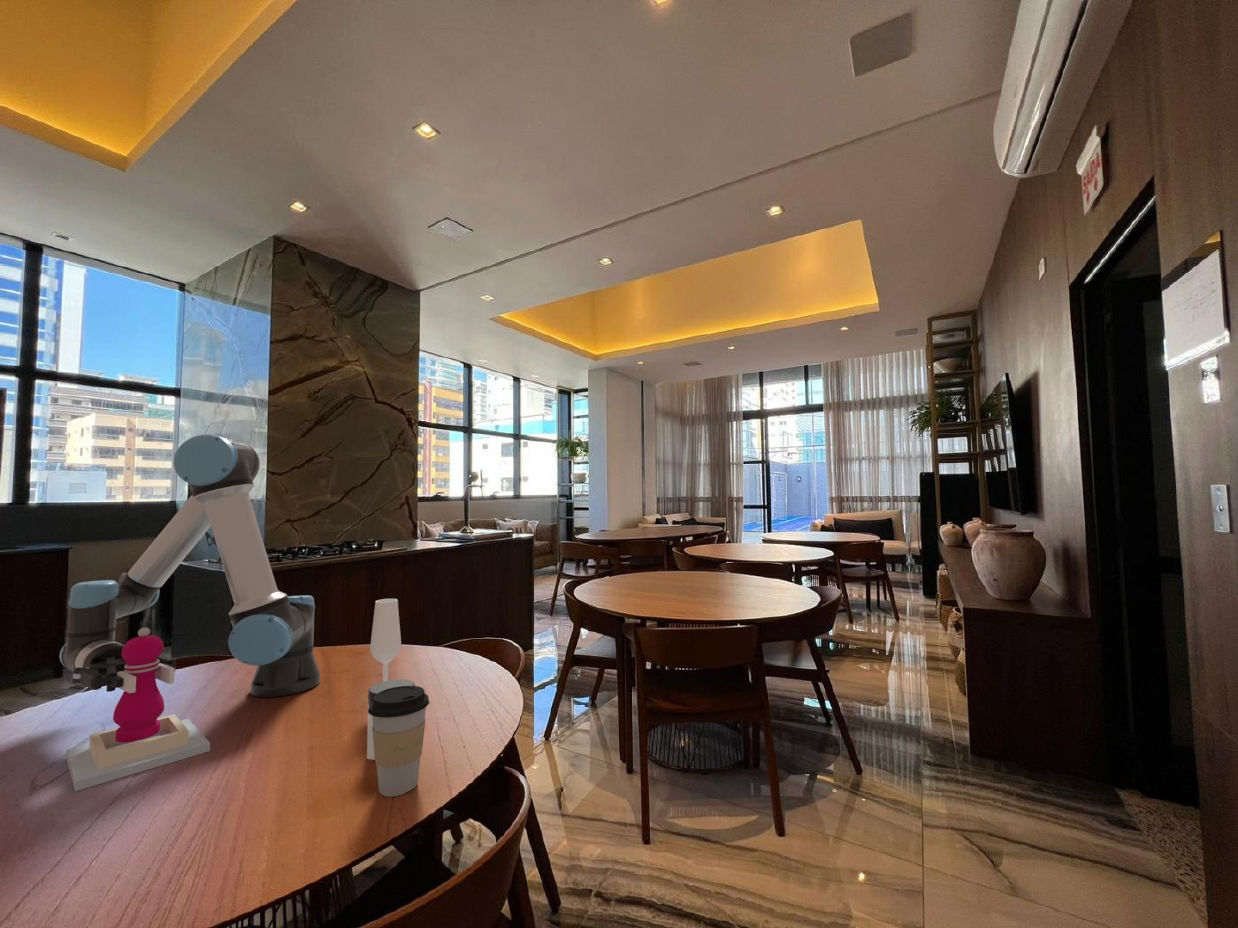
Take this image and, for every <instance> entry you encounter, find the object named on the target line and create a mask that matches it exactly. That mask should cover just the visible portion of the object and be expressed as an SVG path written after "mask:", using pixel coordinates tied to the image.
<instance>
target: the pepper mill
mask: <svg viewBox="0 0 1238 928" xmlns="http://www.w3.org/2000/svg"><path fill="white" fill-rule="evenodd" d="M150 634H151V629H150V628H149V627H142V628H140V629H139V630H138V631H137V635H138V636H136V637H133V638H131V639H129V640H128V641H126V643H125V644H123V645H124V647H123V649H122V658H123V659H124V660H125V661H126V662H127V664H126V665H125V666H124V667H125V670H124V672H126V673H128V674H131V675H133V676H136V691H135V692H134V693H128V692H126V691H124V690H123V693H122V695H121V696H120V699H119V700H118V702H117V703H116V706H115V707H114V711H113V717H112V719H113V722H114V723H115V724H116V725H117V726H118V727H117V728H118V729H117V730H116V737H115V740H116V741H117V742H133V741H138V740H142V739H145V738H148V737H151V736H153V735H155V734H157V733H158V732H159V731H160V721H159V720H157V718H160V716H161V715H162V714H163V712H164V710H165V701H164V696H163V695H162V693H161V692H160V689H159V688H158V685H157V679H156V676H155V674H156V668H158V667H159V661H160V660H159V659H157V658H158V657H159V656H160V655H162V653H163V652H164V647H165V646H164V641H163V640H162V639H161V638H160V637H158V636H156V635H152V634H151V635H150Z"/></svg>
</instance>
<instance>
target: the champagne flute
mask: <svg viewBox="0 0 1238 928" xmlns="http://www.w3.org/2000/svg"><path fill="white" fill-rule="evenodd" d="M373 613H374V614H373V620H372V621H373V622H372V630H371V638H370V646H369V651H370V654H371V656H373V658H374V659H375V660H376V661H378V662H379V663H381V664H382V682H385V681H389V663H390V662H391V661H393V660H394V659H395V657H397V655H398V654H399V653H400V651H401V649H402V641H401V640H402V637H401V626H400V624H401V623H400V616H399V614H400V613H399V600H398V599H397V598H383V599H378V600H375V604H374V612H373Z"/></svg>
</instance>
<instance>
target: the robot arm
mask: <svg viewBox="0 0 1238 928" xmlns="http://www.w3.org/2000/svg"><path fill="white" fill-rule="evenodd" d="M260 466H261V461H260V457H259V455H258V453H257V451H256V450H255V449H254V447H252V446H251V445H250V444H249V443H247V442H244V441H241V440H236V439H232V438H228V437H227V436H224V435H220V434H208V433H207V434H199V435H196V436H193V437H190V438H188V439H186V440H185V441H184V442H182V444H181V445H180V446H178V449H176V451H175V453H174V456H173V468H174V470H175V473H176V474H177V476H178V477H179V478H180V479H181V481H184V482H185V483H188V484H189V485H188V486H189V489H190V492H191V496H190V497H189V498H188V499H187V501H186V502H185V503H184V504H183V505H182V506H181V507H180V509H179V510H178V511H177V512H176V513H175V514H174V516H173V517H172V519H170V521H169V522H168V523H167V524H166V525H165V527H164V528H163V529H162V531H160V533H158V535H157V536H156V538H155V539H154V540H153V541H152V543H151V544H150V545H148V548H147V549H146V550H145V551H144V552H143V554H141V556H140V557H139V558H138V560H137V561H136V562H135V563H134V564H133V566H132V567H131V568H130V569H129V570H128V571H127V573H126V574H125V575H124V576H123V577H122V579H121V580H120V581H119V582H117V581H116V580H113V579H107V580H106V579H105V580H104V579H103V580H92V581H91V580H89V581H82V582H78V583H76V584H74V585H72V586H71V588H70V593H69V599H68V602H67V604H68V613H67V635H66V642H65V644H64V645H63V646H62V647H61V648H60V651H59V655H58V656H59V660H60V663H61V665H63V667H65V669H67V670H68V671H70V672H72V683H73V684H80V685H83V686H85V687H87V688H88V689H90V690H92V691H97V690H101V689H102V687H105V686H106V692H114V691H116V688H117V689H120V690H122V691H123V692H124V691H126V692H128V693H134V692H135V691H136V676H133V675H131V674H128V673H126V672H124V670H125V667H124V666H125V665H126V664H127V662H126V661H125V660H124V659H123V658H122V649H123V647H124V645H125V644H122V643H120V642H117V641H115V640H116V628H117V627H116V626H117V619H119V618H122V617H125V616H129V615H132V614H137V613H139V612H142V611H143V612H144V611H145V610H146V609H149V608H150V607H152V606H153V605H155V604H156V602H157V601H158V599H159V597H160V591H161V590H160V589H161V588H162V587H163V586H164V584H165V583H166V582H167V580H168V579H169V578H170V577H171V575H172V574H173V573H174V572H175V570H176V569H177V568H178V567H179V566H180V564H181V563H182V562H183V561H184V560H185V558H186V557H187V556H188V555H189V553H191V552H192V550H193V549H194V547H195V546H196V545H197V544H198V543H199V541H200V540H201V538H203V536H204V535H205V534H206V532H207V531H208V530H209V529H210V527H211V531H212V534H213V535H212V536H213V539H214V540H215V541H214V542H215V544H216V548H217V551H218V554H219V557H220V561H221V564H222V566H223V570H224V573H225V577H226V581H227V584H228V586H229V590H230V594H231V596H232V601H233V603H234V604H233V606H232V608H231V609H230V611H229V612H228V616H229V619H230V623H231V625H232V629H231V631H230V634H229V636H228V648H229V651H230V653H231V654H232V656H233V658H235V659H236V660H237V661H239V662H240V663H243V664H246V665H248V666H255V667H256V666H257V667H256V670H255V672H254V675H253V678H252V679H251V683H250V695H251V696H254V697H257V698H275V697H277V698H278V697H283V696H290V695H294V694H298V693H301V692H305V691H307V689H308V690H310V689H309V688H311V689H312V688H314V686H315V687H316V686H318V685H319V684H320V683H321V672H320V671H321V670H320V668H319V665H318V663H317V660H316V658H315V657H316V656H315V655H314V638H315V637H314V636H315V635H314V634H315V633H314V632H315V610H316V605H315V598H314V597H313V596H312V595H291V596H290V595H288V594H287V593H285V592H283V591H280V590H279V589H278V586H277V583H276V581H275V577H274V574H273V569H272V567H271V564H270V560H269V557H268V554H267V550H266V547H265V545H264V541H263V538H262V534H261V531H260V528H259V524H258V520H257V518H256V515H255V511H254V507H253V504H252V502H251V497H250V492H251V491H252V490H253V488H254V487H255V486H254V485H255V484H254V480H255V479H256V476H257V475H258V473H259V471H260ZM157 659H159V660H160V661H159V667H158V668H156V674H155V676H156V680H158V681H160V682H163V683H166V684H169V685H170V684H171V685H172V684H174V683H175V672H176V667H177V665H176V664H177V659H176V658H173V657H170V656H167V655H164V654H161V655H160V656H159V657H158V658H157ZM319 682H320V683H319ZM318 683H319V684H318ZM317 684H318V685H317Z"/></svg>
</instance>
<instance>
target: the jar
mask: <svg viewBox="0 0 1238 928" xmlns="http://www.w3.org/2000/svg"><path fill="white" fill-rule="evenodd" d="M399 686H416V684H415V682H414V681H413V680H409V679H403V678H402V679H391V680H388V681H385V682H383V681H381V682H378V683H376V684H373V685H372V686H371V687H370V688H368V694H367V700H368V702H367V703H368V707H367V710H368V709H369V705H370V703H371V702H372V701H373V698H374V696H375V695H376V694H377V693H379V692H381V691H383V690H386V689H389V688H393V687H399ZM372 726H373V720H372V715H370V714H369V713H368V712H367V733H366V734H367V739H366V740H367V744H366V746H367V748H366V759H375V754H374V743H373V732H372Z"/></svg>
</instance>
